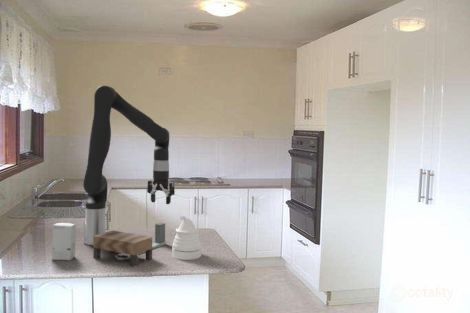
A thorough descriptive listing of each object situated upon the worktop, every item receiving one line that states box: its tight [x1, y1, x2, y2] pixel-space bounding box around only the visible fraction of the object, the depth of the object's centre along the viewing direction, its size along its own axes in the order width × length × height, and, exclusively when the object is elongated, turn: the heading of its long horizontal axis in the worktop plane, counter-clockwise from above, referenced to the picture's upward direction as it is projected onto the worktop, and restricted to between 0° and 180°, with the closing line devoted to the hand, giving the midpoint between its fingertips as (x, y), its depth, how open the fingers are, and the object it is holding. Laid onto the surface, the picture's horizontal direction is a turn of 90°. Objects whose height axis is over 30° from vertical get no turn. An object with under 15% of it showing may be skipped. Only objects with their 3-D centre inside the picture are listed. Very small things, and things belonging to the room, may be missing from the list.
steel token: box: [115, 253, 130, 261], centre depth 201 cm, size 6×6×2 cm
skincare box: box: [51, 222, 77, 261], centre depth 198 cm, size 8×6×15 cm
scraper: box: [138, 222, 167, 255], centre depth 217 cm, size 20×4×10 cm, turn 153°
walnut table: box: [93, 230, 153, 267], centre depth 200 cm, size 22×12×10 cm, turn 63°
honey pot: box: [171, 214, 202, 261], centre depth 207 cm, size 13×13×18 cm
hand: (160, 203), depth 223 cm, fingers open, 8 cm apart
